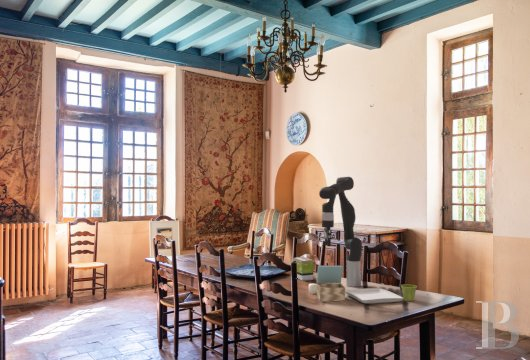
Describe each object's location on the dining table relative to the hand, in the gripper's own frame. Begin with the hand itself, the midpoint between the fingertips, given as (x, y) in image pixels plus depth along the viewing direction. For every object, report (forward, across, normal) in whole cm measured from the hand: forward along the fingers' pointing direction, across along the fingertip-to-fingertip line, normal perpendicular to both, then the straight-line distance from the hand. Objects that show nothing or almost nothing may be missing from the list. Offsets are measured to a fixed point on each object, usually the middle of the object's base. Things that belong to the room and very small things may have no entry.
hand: (327, 245), depth 292 cm
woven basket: (+31, -10, 0) cm, 33 cm away
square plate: (+32, -10, -26) cm, 42 cm away
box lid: (+17, -7, 0) cm, 19 cm away
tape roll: (+31, +6, +8) cm, 33 cm away
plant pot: (+31, -14, -47) cm, 58 cm away
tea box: (+31, +54, +10) cm, 63 cm away
